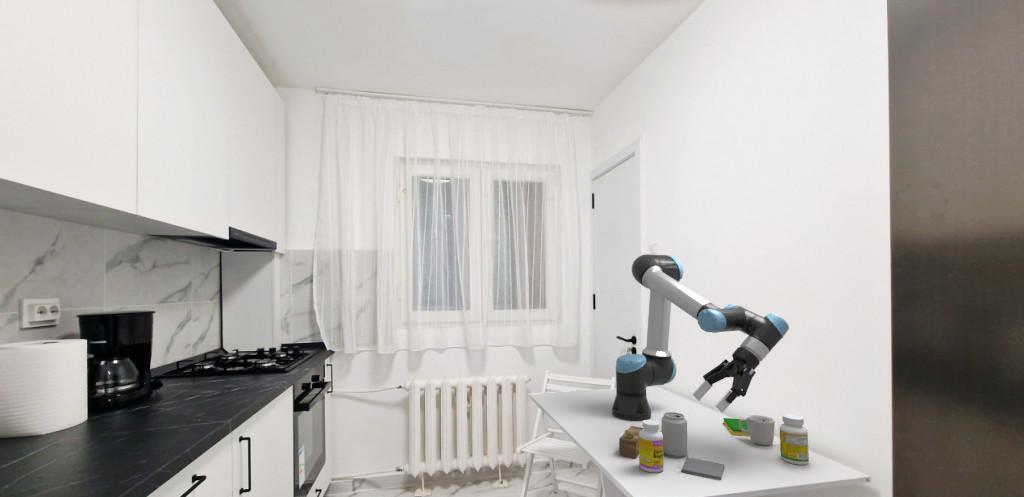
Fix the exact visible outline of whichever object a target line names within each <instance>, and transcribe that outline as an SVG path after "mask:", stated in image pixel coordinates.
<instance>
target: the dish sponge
mask: <svg viewBox="0 0 1024 497" xmlns="http://www.w3.org/2000/svg"><path fill="white" fill-rule="evenodd" d="M722 419H723V420H722V421H723V424H724V426H725V427H726V429H728V431H729V432H730V433H731V434H732V436H738V437H739V436H740V437H750V435H749V434H747V433H744V432H742V431H741V430H740V428H739V421H740V420H741V419H742V418H730V417H729V418H728V417H723V418H722ZM742 427H743V429H744V430H747V429H748V425H747V423H746V422H742Z"/></svg>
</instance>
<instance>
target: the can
mask: <svg viewBox="0 0 1024 497" xmlns="http://www.w3.org/2000/svg"><path fill="white" fill-rule="evenodd" d="M661 433H662V434H663V454H665V455H666V456H668V457H671V458H684V457H685V456H687V455H688V452H689V450H688V420H687V419H686V418H685V415H684V414H683V413H681V412H676V411H675V412H674V411H666V412H664V413H663V416H662V417H661Z"/></svg>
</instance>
